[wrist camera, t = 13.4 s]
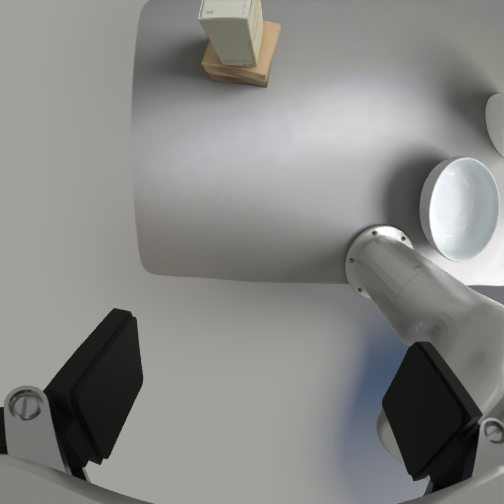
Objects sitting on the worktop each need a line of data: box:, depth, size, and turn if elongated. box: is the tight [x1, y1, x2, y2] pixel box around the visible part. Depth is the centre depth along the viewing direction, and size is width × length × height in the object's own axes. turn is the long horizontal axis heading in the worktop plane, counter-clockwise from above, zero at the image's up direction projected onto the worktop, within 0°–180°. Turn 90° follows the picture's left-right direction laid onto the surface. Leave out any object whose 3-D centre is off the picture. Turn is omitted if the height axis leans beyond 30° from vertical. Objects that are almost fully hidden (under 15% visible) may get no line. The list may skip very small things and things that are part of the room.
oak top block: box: [201, 21, 281, 84], centre depth 29 cm, size 8×8×4 cm
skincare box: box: [198, 0, 263, 67], centre depth 21 cm, size 6×4×12 cm
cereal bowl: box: [419, 157, 500, 262], centre depth 36 cm, size 17×17×7 cm
